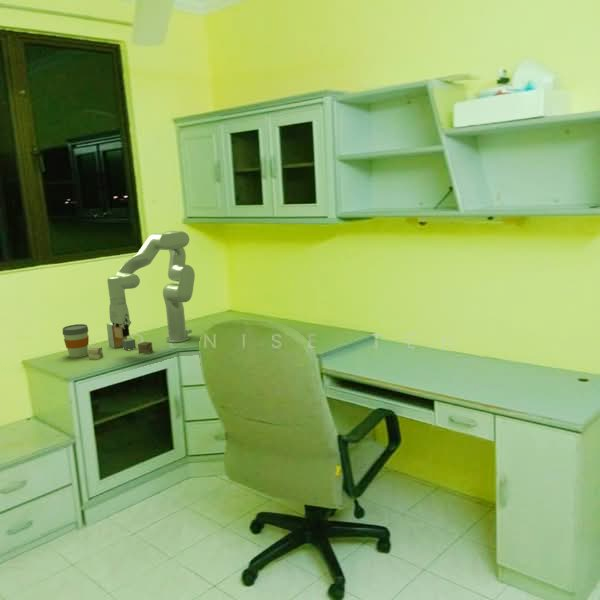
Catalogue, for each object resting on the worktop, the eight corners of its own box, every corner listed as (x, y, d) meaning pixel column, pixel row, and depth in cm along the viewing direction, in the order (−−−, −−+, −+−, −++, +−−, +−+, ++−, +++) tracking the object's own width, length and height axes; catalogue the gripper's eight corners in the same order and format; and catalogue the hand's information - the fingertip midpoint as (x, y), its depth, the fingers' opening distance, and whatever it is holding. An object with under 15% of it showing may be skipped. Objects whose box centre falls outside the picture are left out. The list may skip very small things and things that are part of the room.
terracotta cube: (123, 334, 307) (121, 325, 306) (129, 335, 304) (128, 326, 303) (115, 337, 303) (114, 327, 302) (121, 338, 300) (120, 328, 299)
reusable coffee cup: (76, 359, 303) (72, 331, 300) (60, 356, 310) (56, 328, 307) (96, 352, 314) (92, 325, 311) (80, 350, 320) (77, 323, 317)
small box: (114, 348, 320) (111, 325, 318) (108, 346, 325) (106, 323, 322) (128, 345, 326) (125, 322, 323) (122, 343, 330) (119, 320, 328)
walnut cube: (145, 350, 314) (144, 341, 313) (152, 351, 312) (151, 342, 311) (138, 353, 309) (137, 344, 308) (146, 354, 307) (145, 344, 306)
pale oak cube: (93, 356, 308) (92, 346, 307) (102, 356, 307) (101, 346, 306) (89, 359, 303) (87, 349, 302) (98, 359, 303) (97, 349, 302)
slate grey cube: (131, 346, 322) (130, 337, 321) (135, 348, 319) (134, 339, 318) (122, 348, 319) (121, 339, 318) (127, 350, 316) (125, 341, 315)
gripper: (100, 301, 301) (105, 335, 305) (123, 303, 292) (127, 339, 295) (112, 297, 307) (117, 332, 311) (135, 300, 298) (139, 335, 301)
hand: (122, 335), depth 303 cm, fingers closed on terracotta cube, 5 cm apart
